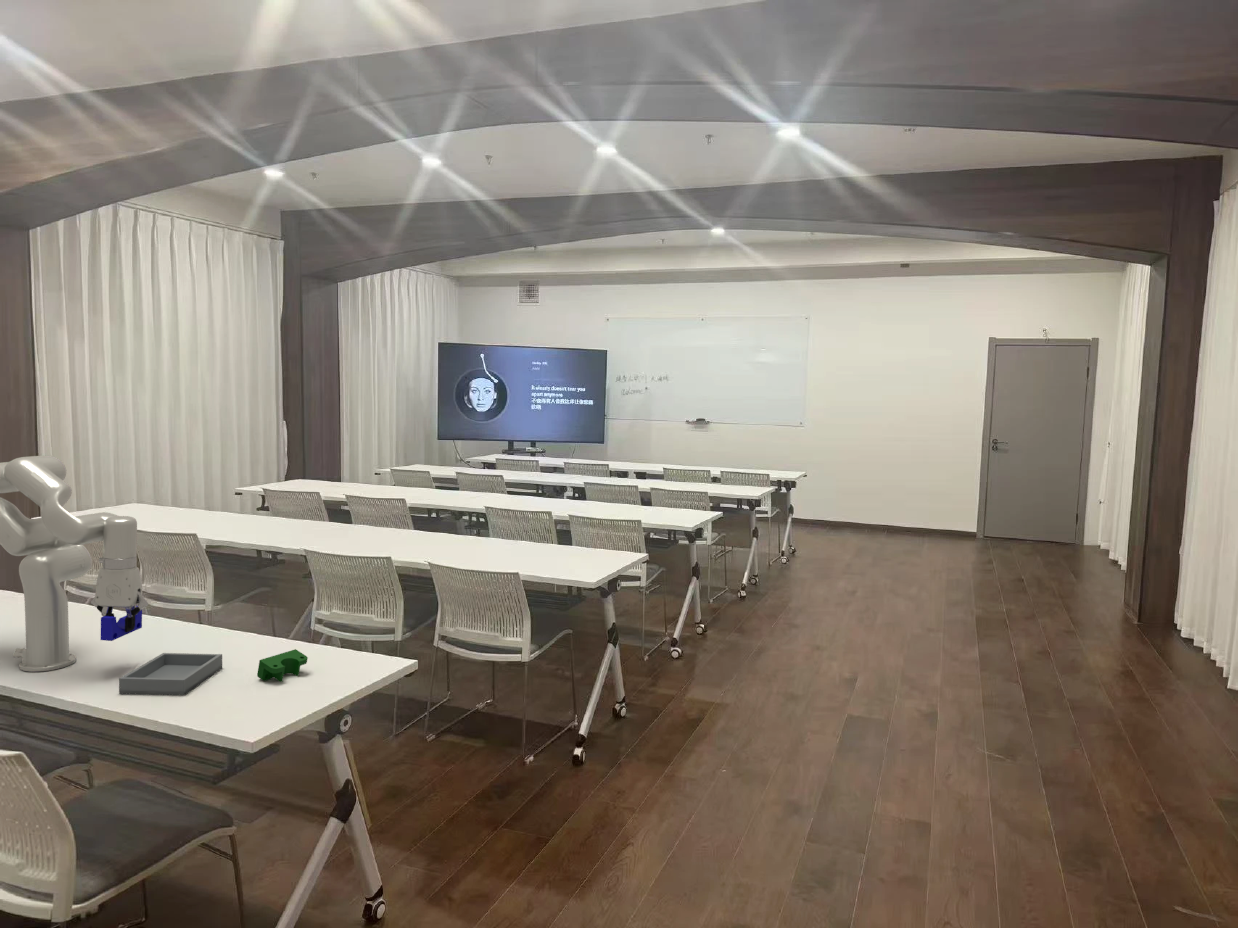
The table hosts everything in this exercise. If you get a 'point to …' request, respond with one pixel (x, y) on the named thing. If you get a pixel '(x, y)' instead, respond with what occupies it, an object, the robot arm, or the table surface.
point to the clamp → (281, 665)
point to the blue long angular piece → (117, 626)
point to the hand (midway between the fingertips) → (119, 629)
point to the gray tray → (170, 674)
